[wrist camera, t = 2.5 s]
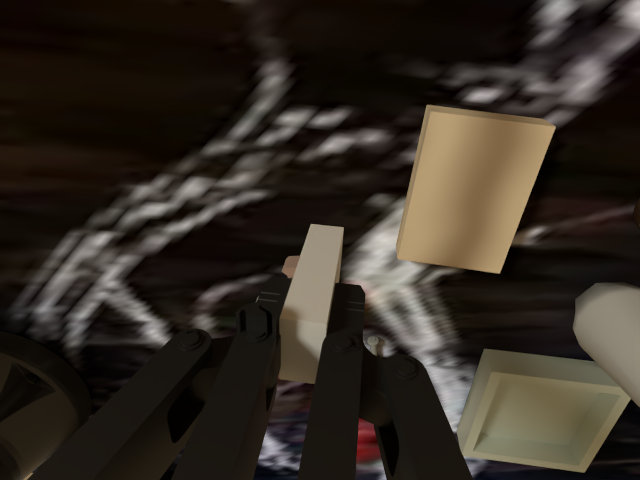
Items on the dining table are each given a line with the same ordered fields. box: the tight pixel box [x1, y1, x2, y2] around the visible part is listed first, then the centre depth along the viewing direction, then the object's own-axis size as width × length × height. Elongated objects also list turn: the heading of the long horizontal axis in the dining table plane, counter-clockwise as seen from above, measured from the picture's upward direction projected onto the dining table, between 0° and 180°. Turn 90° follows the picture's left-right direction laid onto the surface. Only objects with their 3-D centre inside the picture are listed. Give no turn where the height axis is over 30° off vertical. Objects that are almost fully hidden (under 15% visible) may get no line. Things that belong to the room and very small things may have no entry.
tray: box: [457, 349, 631, 473], centre depth 35 cm, size 11×11×2 cm
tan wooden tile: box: [396, 105, 556, 274], centre depth 26 cm, size 7×10×2 cm
